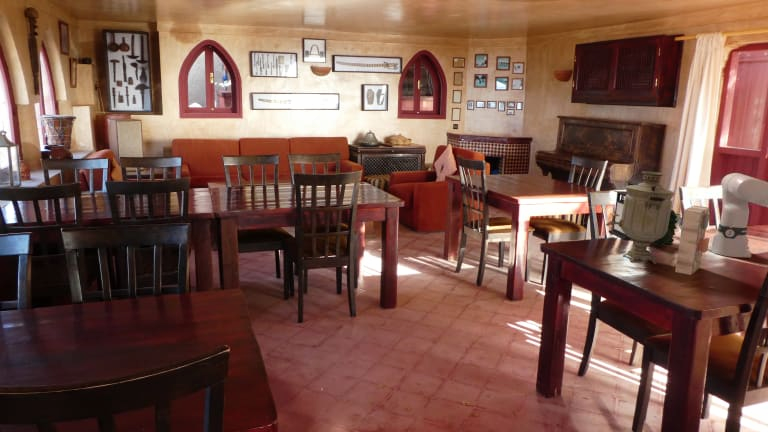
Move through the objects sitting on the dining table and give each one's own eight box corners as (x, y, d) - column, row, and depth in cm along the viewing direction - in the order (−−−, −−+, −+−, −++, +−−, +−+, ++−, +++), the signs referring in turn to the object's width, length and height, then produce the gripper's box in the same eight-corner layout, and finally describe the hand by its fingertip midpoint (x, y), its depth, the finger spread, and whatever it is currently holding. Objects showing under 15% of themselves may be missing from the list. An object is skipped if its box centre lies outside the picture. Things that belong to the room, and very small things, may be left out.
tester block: (684, 264, 252) (694, 205, 246) (699, 267, 248) (709, 207, 242) (675, 271, 240) (684, 209, 234) (690, 275, 236) (700, 211, 230)
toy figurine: (659, 243, 298) (642, 246, 280) (665, 208, 295) (649, 209, 277) (678, 247, 291) (662, 250, 273) (685, 211, 289) (669, 212, 271)
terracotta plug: (683, 246, 246) (685, 234, 245) (707, 250, 240) (709, 238, 239) (680, 248, 242) (682, 236, 241) (704, 253, 236) (706, 240, 235)
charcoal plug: (683, 223, 245) (685, 211, 244) (707, 227, 239) (709, 214, 238) (680, 225, 241) (682, 212, 240) (704, 229, 235) (706, 216, 234)
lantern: (638, 233, 313) (646, 170, 306) (655, 240, 297) (664, 174, 290) (608, 232, 312) (616, 169, 305) (623, 239, 295) (632, 173, 288)
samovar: (605, 247, 277) (615, 166, 269) (664, 255, 266) (676, 171, 258) (599, 261, 251) (610, 172, 243) (664, 271, 240) (678, 178, 232)
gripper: (801, 219, 213) (758, 213, 222) (806, 212, 228) (766, 207, 237) (804, 202, 212) (761, 197, 221) (809, 197, 227) (768, 192, 236)
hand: (763, 202), depth 229 cm, fingers closed
